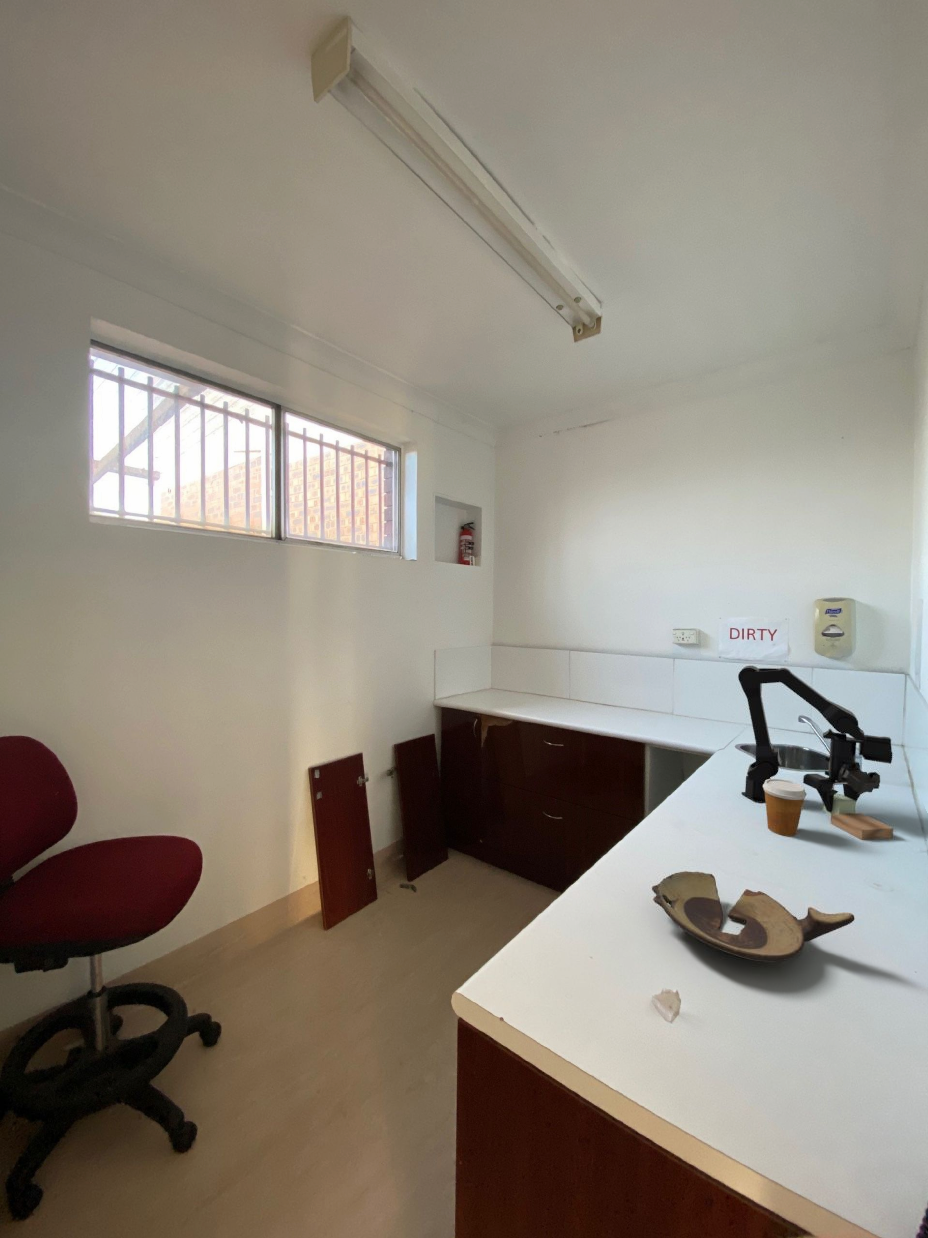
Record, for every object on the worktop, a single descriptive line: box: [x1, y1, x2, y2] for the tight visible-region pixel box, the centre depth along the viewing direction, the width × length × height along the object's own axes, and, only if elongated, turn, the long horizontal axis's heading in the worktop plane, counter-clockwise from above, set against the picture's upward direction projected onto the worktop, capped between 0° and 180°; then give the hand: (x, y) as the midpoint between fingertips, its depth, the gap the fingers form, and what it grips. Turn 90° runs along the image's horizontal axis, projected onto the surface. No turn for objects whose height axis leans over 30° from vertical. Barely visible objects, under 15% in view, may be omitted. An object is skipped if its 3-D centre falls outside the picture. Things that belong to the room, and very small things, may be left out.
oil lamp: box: [651, 870, 855, 963], centre depth 88 cm, size 22×30×8 cm
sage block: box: [822, 793, 857, 816], centre depth 140 cm, size 5×5×5 cm
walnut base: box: [830, 812, 894, 841], centre depth 131 cm, size 9×9×2 cm
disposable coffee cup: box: [763, 778, 808, 837], centre depth 130 cm, size 10×10×12 cm
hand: (839, 811), depth 140 cm, fingers open, 6 cm apart
